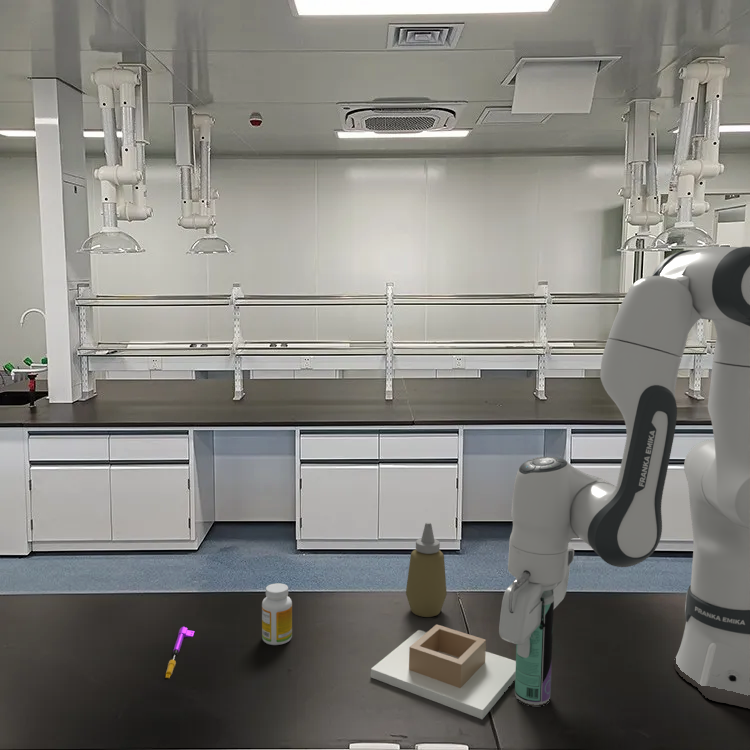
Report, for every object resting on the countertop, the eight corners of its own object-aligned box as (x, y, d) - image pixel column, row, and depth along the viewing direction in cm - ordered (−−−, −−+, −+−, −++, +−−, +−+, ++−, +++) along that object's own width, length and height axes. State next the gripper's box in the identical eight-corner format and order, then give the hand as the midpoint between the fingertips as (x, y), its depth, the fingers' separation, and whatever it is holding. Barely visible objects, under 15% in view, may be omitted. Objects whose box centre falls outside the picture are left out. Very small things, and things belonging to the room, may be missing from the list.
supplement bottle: (294, 632, 132) (294, 582, 131) (288, 646, 127) (288, 595, 126) (266, 630, 133) (266, 580, 132) (258, 644, 128) (258, 593, 126)
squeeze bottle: (399, 605, 144) (401, 519, 141) (435, 599, 147) (438, 515, 144) (415, 623, 136) (417, 533, 134) (453, 617, 139) (456, 528, 137)
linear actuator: (179, 630, 132) (163, 680, 116) (181, 625, 132) (164, 673, 116) (194, 633, 133) (179, 683, 117) (195, 627, 132) (181, 676, 117)
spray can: (557, 702, 112) (562, 580, 109) (526, 709, 110) (531, 585, 107) (537, 684, 117) (541, 566, 114) (508, 690, 115) (512, 571, 112)
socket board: (521, 671, 120) (523, 640, 120) (482, 719, 107) (483, 685, 106) (418, 637, 131) (419, 609, 130) (370, 677, 118) (371, 645, 117)
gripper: (532, 590, 100) (526, 682, 102) (577, 546, 117) (572, 626, 119) (490, 579, 103) (486, 668, 105) (540, 538, 120) (535, 615, 122)
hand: (532, 645), depth 112 cm, fingers open, 5 cm apart
